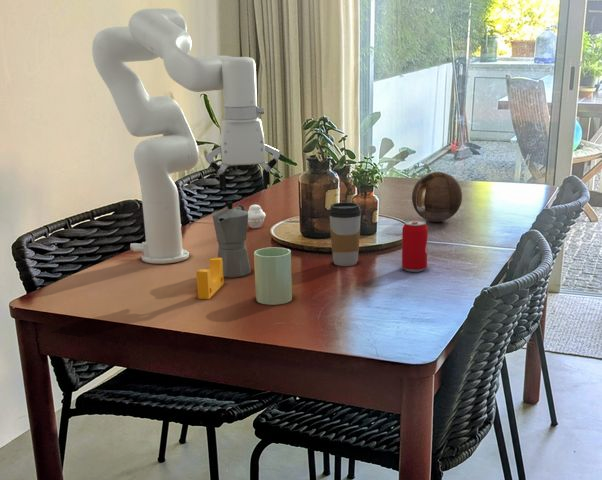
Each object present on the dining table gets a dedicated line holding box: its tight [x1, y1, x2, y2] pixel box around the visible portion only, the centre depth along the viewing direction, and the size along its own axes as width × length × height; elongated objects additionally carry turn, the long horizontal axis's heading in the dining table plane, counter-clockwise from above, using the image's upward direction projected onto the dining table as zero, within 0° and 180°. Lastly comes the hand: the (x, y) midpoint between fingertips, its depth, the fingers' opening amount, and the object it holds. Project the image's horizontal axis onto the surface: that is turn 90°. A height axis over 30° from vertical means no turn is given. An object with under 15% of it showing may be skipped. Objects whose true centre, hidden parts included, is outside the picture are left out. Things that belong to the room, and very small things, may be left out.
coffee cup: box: [328, 201, 362, 267], centre depth 220 cm, size 8×8×15 cm
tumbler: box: [253, 246, 293, 306], centre depth 194 cm, size 8×8×11 cm
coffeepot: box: [211, 200, 252, 278], centre depth 215 cm, size 15×9×18 cm, turn 163°
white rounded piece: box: [247, 203, 266, 229], centre depth 261 cm, size 6×6×7 cm
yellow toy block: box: [195, 257, 225, 300], centre depth 202 cm, size 12×4×6 cm, turn 168°
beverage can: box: [401, 219, 429, 273], centre depth 214 cm, size 6×6×12 cm
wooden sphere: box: [411, 171, 463, 223], centre depth 261 cm, size 15×15×15 cm
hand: (245, 189), depth 203 cm, fingers open, 9 cm apart
